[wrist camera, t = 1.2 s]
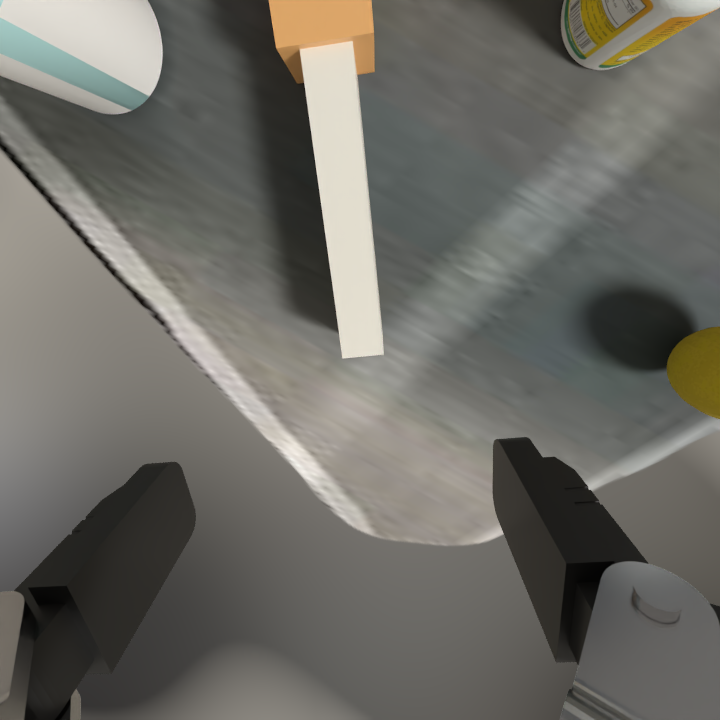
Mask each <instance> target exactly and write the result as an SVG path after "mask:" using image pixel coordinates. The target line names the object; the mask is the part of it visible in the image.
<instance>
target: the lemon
mask: <svg viewBox="0 0 720 720" xmlns="http://www.w3.org/2000/svg"><path fill="white" fill-rule="evenodd" d="M667 375H668V378H669V381H670V384H671V386H672V387H673V389H674V390H675V391H676V392H677V393H678V395H679V396H680V397H681V398H682V399H683V400H684V401H686V402H687V403H688V404H690V405H691V406H693V407H694V408H696V409H698V410H699V411H701V412H703V413H705V414H707V415H709V416H712V417H715V418H718V419H720V327H711V328H707V329H704V330H700V331H697V332H695V333H693V334H691V335H689V336H687V337H685V338H684V339H683V340H681V341H680V342H679V343H678V344H677V345H676V346H675V347H674V349H673V350H672V352H671V354H670V356H669V358H668V362H667Z"/></svg>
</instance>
